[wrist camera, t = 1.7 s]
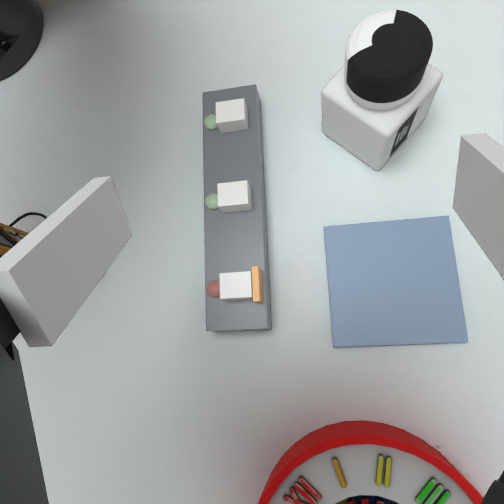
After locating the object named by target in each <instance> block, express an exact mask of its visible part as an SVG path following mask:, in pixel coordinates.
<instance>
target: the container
mask: <svg viewBox="0 0 504 504" xmlns="http://www.w3.org/2000/svg"><path fill="white" fill-rule="evenodd" d="M432 47H433V41H432V36H431V33H430V31H429V29H428V27H427V26H426V24H425V23H424V22H423V21H422V20H420V19H419V18H418V17H416V16H415V15H413V14H411V13H408V12H405V11H400V10H386V11H381V12H378V13H375V14H372V15H370V16H368V17H367V18H365V19H363V20H362V21H361V22H359V23H358V24H357V25H356V26H355V27H354V29H353V30H352V31H351V33H350V35H349V37H348V40H347V43H346V52H345V65H344V66H343V67H342V68H341V69H340V70H339V71H338V72H337V73H336V75H335V76H334V77H333V78H332V79H331V80H330V81H329V82H328V83H327V84H326V86H325V87H324V88H323V89H322V91H321V105H322V131H323V133H324V134H326V135H327V136H328V137H330V138H331V139H333V140H334V141H335V142H337V143H338V144H340V145H341V146H342V147H344V148H345V149H347V150H348V151H349V152H351V153H352V154H354V155H355V156H356V157H358V158H359V159H360V160H362V161H363V162H365V163H366V164H367V165H369V166H370V167H372V168H373V169H374V170H379V169H380V168H381V167H382V166H383V165H384V164H385V163H386V162H387V161H388V160H389V158H390V157H391V156H392V155H393V154H394V153H395V152H396V151H397V149H398V148H399V147H400V146H401V145H402V144H403V143H404V142H405V141H406V139H407V138H408V137H409V136H410V135H411V134H412V133H413V132H414V130H415V129H416V128H417V127H418V126H419V125H420V124H421V123H422V122H423V120H424V119H425V116H426V114H427V112H428V110H429V107H430V105H431V103H432V100H433V98H434V96H435V94H436V91H437V89H438V87H439V84H440V82H441V80H442V78H443V73H442V72H441V71H439V70H438V69H436V68H434V67H433V66H431V65H429V64H428V61H429V59H430V56H431V52H432Z"/></svg>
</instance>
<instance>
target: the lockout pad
mask: <svg viewBox="0 0 504 504" xmlns="http://www.w3.org/2000/svg"><path fill="white" fill-rule="evenodd" d="M324 238H325V250H326V262H327V274H328V286H329V298H330V310H331V322H332V334H333V346H334V347H350V346H376V345H403V344H430V343H456V342H468V337H467V331H466V324H465V318H464V311H463V305H462V298H461V292H460V286H459V279H458V273H457V266H456V260H455V253H454V247H453V241H452V234H451V228H450V221H449V216H439V217H428V218H417V219H405V220H394V221H383V222H372V223H360V224H349V225H338V226H327V227H324Z"/></svg>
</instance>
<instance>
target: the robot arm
mask: <svg viewBox="0 0 504 504" xmlns="http://www.w3.org/2000/svg"><path fill="white" fill-rule="evenodd" d="M42 25H43V20H42V13H41V10H40V7H39V6H38V4H37V2H36V1H35V0H0V80H1V79H4V78H6V77H7V76H9V75H11V74H12V73H14V72H15V71H16V70H18V69H19V68H20V67H21V66H22V65H23V64H24V63H25V62H26V61H27V60H28V59H29V57H30V56H31V55H32V53H33V52H34V50H35V48H36V46H37V44H38V42H39V39H40V36H41V32H42ZM453 209H454V210H455V212H456V213H457V215H458V216H459V218H460V219H461V220H462V222H463V223H464V225H465V226H466V227H467V229H468V230H469V232H470V233H471V235H472V236H473V237H474V239H475V240H476V242H477V243H478V244H479V246H480V247H481V249H482V250H483V252H484V253H485V254H486V256H487V257H488V259H489V260H490V261H491V263H492V264H493V266H494V267H495V269H496V270H497V271H498V273H499V274H500V276H501V277H502V278H503V280H504V147H503V146H502V145H500V144H499V143H498V142H496V141H495V140H494V139H492V138H491V137H490V136H488V135H487V134H486V133H481V134H472V135H464V136H461V141H460V149H459V158H458V166H457V174H456V183H455V191H454V200H453ZM131 236H132V233H131V230H130V227H129V225H128V222H127V219H126V216H125V213H124V211H123V208H122V205H121V202H120V200H119V197H118V194H117V191H116V188H115V186H114V183H113V180H112V177H111V176H106V177H98V178H93V179H92V180H91V181H90V182H88V183H87V184H86V185H85V186H84V187H83V188H81V189H80V190H79V191H78V192H77V193H76V194H74V195H73V196H72V197H71V198H70V199H69V200H67V201H66V202H65V203H64V204H63V205H62V206H60V207H59V208H58V209H57V210H56V211H55V212H53V213H52V214H51V215H50V216H49V217H48V218H46V219H45V220H44V221H43V222H42V223H41V224H39V225H38V226H37V227H36V228H35V229H34V230H32V231H31V232H30V233H29V234H28V235H27V236H25V237H24V238H23V239H22V240H21V241H20V242H18V243H17V244H16V245H15V246H14V247H13V248H11V249H10V250H9V251H8V252H7V253H6V254H4V255H3V256H2V257H1V258H0V504H49V502H48V497H47V492H46V487H45V482H44V477H43V472H42V467H41V462H40V457H39V452H38V447H37V442H36V437H35V432H34V427H33V422H32V417H31V412H30V407H29V402H28V397H27V392H26V387H25V382H24V377H23V372H22V367H21V362H20V357H19V352H18V349H17V348H16V346H15V345H14V343H13V342H12V341H13V340H14V339H15V337H16V336H17V335H18V334H19V333H21V334H22V336H23V338H24V339H25V341H26V342H27V344H28V346H29V347H41V346H52V345H53V344H54V343H55V341H56V340H57V338H58V337H59V336H60V334H61V333H62V332H63V330H64V329H65V327H66V326H67V325H68V323H69V322H70V320H71V319H72V318H73V316H74V315H75V314H76V312H77V311H78V309H79V308H80V307H81V305H82V304H83V302H84V301H85V300H86V298H87V297H88V296H89V294H90V293H91V291H92V290H93V289H94V287H95V286H96V285H97V283H98V282H99V280H100V279H101V278H102V276H103V275H104V273H105V272H106V271H107V269H108V268H109V267H110V265H111V264H112V262H113V261H114V260H115V258H116V257H117V255H118V254H119V253H120V251H121V250H122V249H123V247H124V246H125V244H126V243H127V242H128V240H129V239H130V238H131ZM481 504H504V471H503V473H502V475H501V476H500V478H499V479H498V481H497V480H495V481H494V482H493V483H492V485H491V486H490V488H489V490H488V491H487V493H486V495H485V497H484V498H483V500H482V502H481Z"/></svg>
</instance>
